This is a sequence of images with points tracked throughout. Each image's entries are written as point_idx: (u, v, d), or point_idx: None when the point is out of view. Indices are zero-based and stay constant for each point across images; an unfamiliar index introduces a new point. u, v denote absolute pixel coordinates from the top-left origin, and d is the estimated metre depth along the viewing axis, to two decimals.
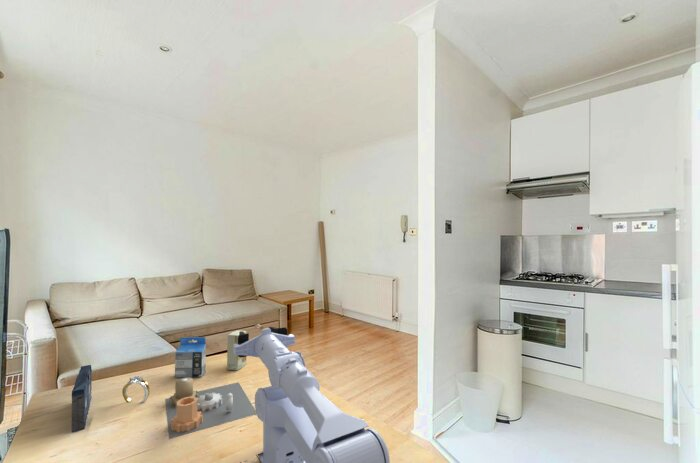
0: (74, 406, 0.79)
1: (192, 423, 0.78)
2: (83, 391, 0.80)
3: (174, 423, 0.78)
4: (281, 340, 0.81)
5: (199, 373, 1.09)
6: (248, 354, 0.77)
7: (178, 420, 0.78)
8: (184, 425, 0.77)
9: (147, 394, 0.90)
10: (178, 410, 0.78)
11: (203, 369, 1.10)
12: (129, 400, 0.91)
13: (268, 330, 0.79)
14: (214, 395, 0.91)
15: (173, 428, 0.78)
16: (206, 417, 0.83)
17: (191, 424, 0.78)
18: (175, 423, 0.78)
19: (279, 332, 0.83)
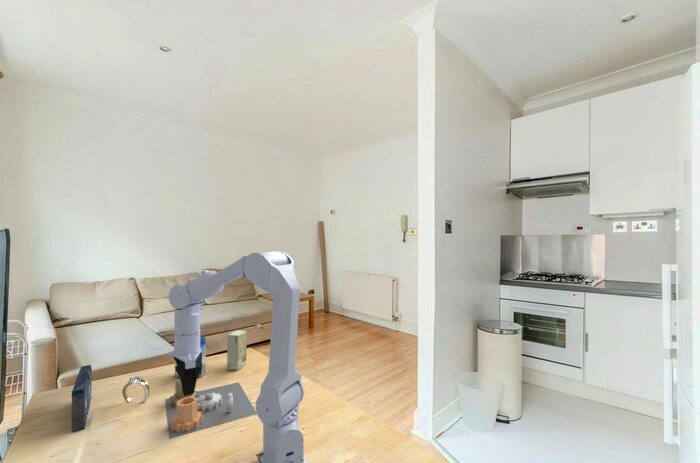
0: (74, 406, 0.79)
1: (192, 423, 0.78)
2: (83, 391, 0.80)
3: (174, 423, 0.78)
4: None
5: (199, 373, 1.09)
6: (195, 355, 0.78)
7: (178, 420, 0.78)
8: (184, 425, 0.77)
9: (147, 394, 0.90)
10: (178, 410, 0.78)
11: (203, 369, 1.10)
12: (129, 400, 0.91)
13: (170, 352, 0.79)
14: (214, 395, 0.91)
15: (173, 428, 0.78)
16: (206, 417, 0.83)
17: (191, 424, 0.78)
18: (175, 423, 0.78)
19: None
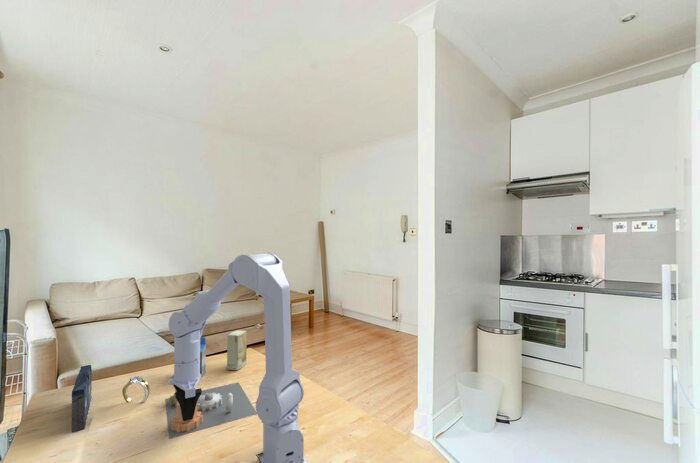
0: (74, 406, 0.79)
1: (192, 423, 0.78)
2: (83, 391, 0.80)
3: (174, 423, 0.78)
4: None
5: None
6: (195, 383, 0.78)
7: (178, 420, 0.78)
8: (184, 425, 0.77)
9: (147, 394, 0.90)
10: (178, 410, 0.78)
11: (203, 369, 1.10)
12: (129, 400, 0.91)
13: (170, 379, 0.79)
14: (214, 395, 0.91)
15: (173, 428, 0.78)
16: (206, 417, 0.83)
17: (191, 424, 0.78)
18: (175, 423, 0.78)
19: None
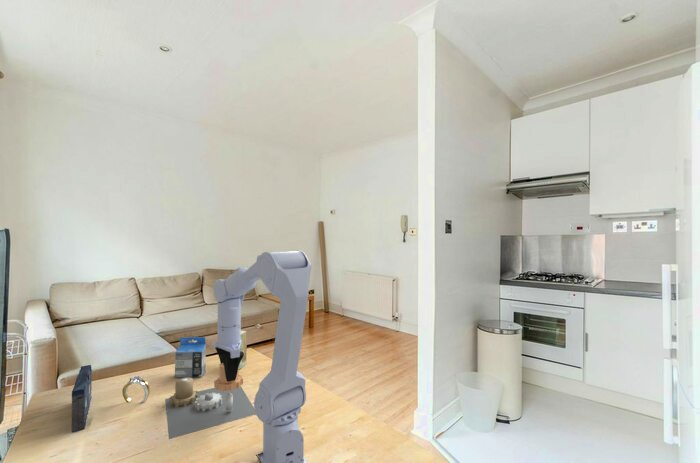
0: (74, 406, 0.79)
1: (235, 384, 0.84)
2: (83, 391, 0.80)
3: (218, 383, 0.83)
4: None
5: (199, 373, 1.09)
6: (238, 346, 0.83)
7: (222, 381, 0.84)
8: (228, 385, 0.83)
9: (147, 394, 0.90)
10: (222, 372, 0.84)
11: (203, 369, 1.10)
12: (129, 400, 0.91)
13: (214, 343, 0.84)
14: (214, 395, 0.91)
15: (217, 388, 0.83)
16: (206, 417, 0.83)
17: (234, 385, 0.83)
18: (219, 383, 0.83)
19: (220, 348, 0.87)
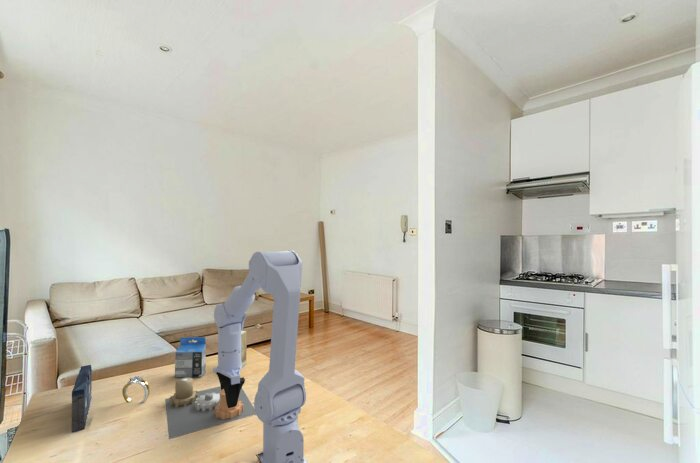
0: (74, 406, 0.79)
1: (235, 411, 0.84)
2: (83, 391, 0.80)
3: (218, 411, 0.83)
4: None
5: (199, 373, 1.09)
6: (239, 371, 0.83)
7: (222, 408, 0.84)
8: (228, 413, 0.83)
9: (147, 394, 0.90)
10: (222, 399, 0.84)
11: (203, 369, 1.10)
12: (129, 400, 0.91)
13: (214, 368, 0.84)
14: (214, 395, 0.91)
15: (218, 415, 0.83)
16: (206, 417, 0.83)
17: (234, 412, 0.83)
18: (219, 411, 0.83)
19: None
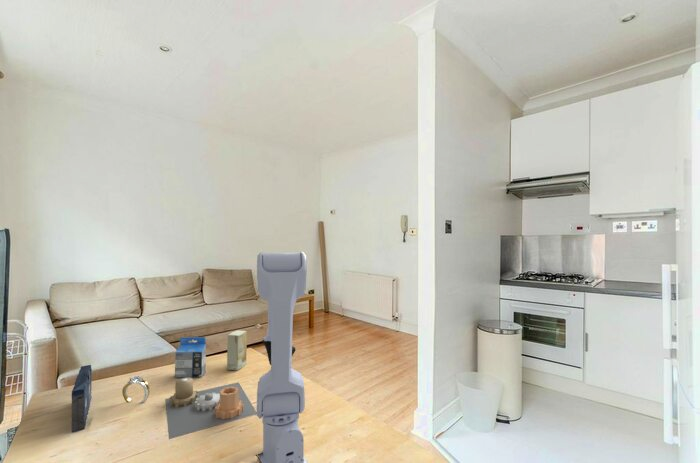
0: (74, 406, 0.79)
1: (235, 411, 0.84)
2: (83, 391, 0.80)
3: (218, 411, 0.83)
4: None
5: (199, 373, 1.09)
6: None
7: (222, 408, 0.84)
8: (228, 413, 0.83)
9: (147, 394, 0.90)
10: (222, 399, 0.84)
11: (203, 369, 1.10)
12: (129, 400, 0.91)
13: (265, 337, 0.89)
14: (214, 395, 0.91)
15: (218, 415, 0.83)
16: (206, 417, 0.83)
17: (234, 412, 0.83)
18: (219, 411, 0.83)
19: (267, 341, 0.93)
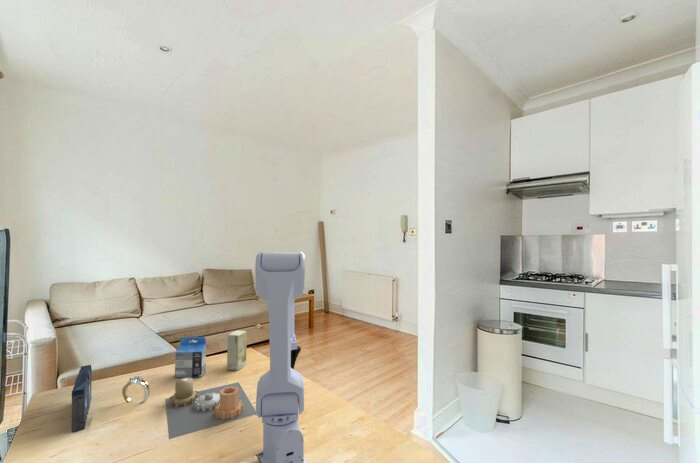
0: (74, 406, 0.79)
1: (235, 411, 0.84)
2: (83, 391, 0.80)
3: (218, 411, 0.83)
4: None
5: (199, 373, 1.09)
6: (294, 339, 0.88)
7: (222, 408, 0.84)
8: (228, 413, 0.83)
9: (147, 394, 0.90)
10: (222, 399, 0.84)
11: (203, 369, 1.10)
12: (129, 400, 0.91)
13: None
14: (214, 395, 0.91)
15: (218, 415, 0.83)
16: (206, 417, 0.83)
17: (234, 412, 0.83)
18: (219, 411, 0.83)
19: None
